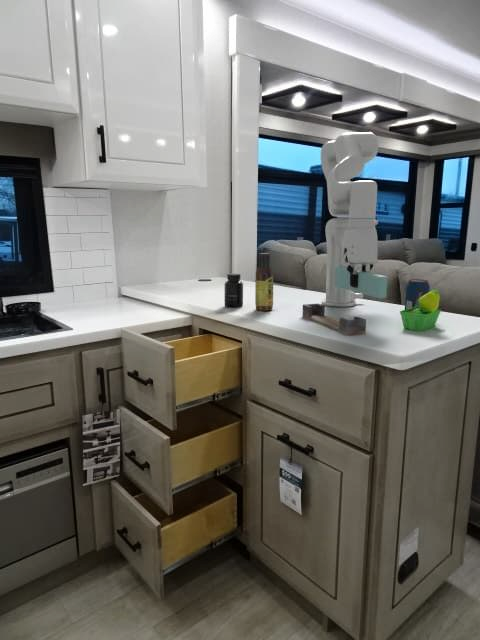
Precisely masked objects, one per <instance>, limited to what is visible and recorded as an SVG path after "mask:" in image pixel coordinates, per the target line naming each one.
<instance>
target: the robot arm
mask: <svg viewBox="0 0 480 640" xmlns="http://www.w3.org/2000/svg"><path fill="white" fill-rule="evenodd" d="M378 151H379V139H378V137H377V136H376V134H375V133H373V132H371V131H369V132H368V131H367V132H364V131H363V132H344V133H341V134H339V135H338V136H337V137H336V139H335V140H329V141H327V142H325V143H324V144H322V147H321V149H320V163H321V164H320V165H321V169H322V172H323V175H324V178H325V180H326V187H327V188H326V189H327V205H328V211H329V213H330V215H331V216H332V217H334V218H331V219H329V220H328V221H327V222H326V225H325V231H324V232H325V239H326V279H325V280H326V284H325V288H326V289H325V299H322V300H321V305H324V306H328V307H338V308H345V307H353V306H355V305H357V301H356V299H363V298H364V294H362V293H358V292H355V291H351V290H348V289H344V288H340V287H337V286H334V279H335V267H343V268H346V269H347V270H348V272H349V273H350V286H351V287H355V288H357V287H358V274H357V270H358V266H359V265H360V264H361V265H360V267H361V268H360V271H363V272H368V273H371V270H372V269H373V268H375V267H376V266H377V265H379V260H378V250H379V249H378V248H379V244H378V243H379V242H378V232H377V229H376V226H378V224H379V220H376V215H377V214H376V213H377V196H378V184H377V182H376V181H374V180H355V181H354V180H353V181H351V179H354V178H357V177H358V176H359V175H361V173H362V172H363V171H364V168H365V165H366V164H368V163H370V161H373V160H374V159H375V158H376V156H377V155H378Z"/></svg>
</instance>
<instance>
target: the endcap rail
mask: <svg viewBox="0 0 480 640" xmlns="http://www.w3.org/2000/svg"><path fill="white" fill-rule="evenodd" d="M325 314H326V305H323V304H322V303H307V304H302V318H305V319H307V320H309V321H312V322H314V323H316V324H319V325H322V326H324V327H326V328H328V329H331V330H333V331H335V332H338V333H341V334H343V335H345V336H359V335H365V334H366V332H367V331H366V330H367V319H365V318H364V317H363V318H362V317H359V316H353V319H347V318H345V317H339V320H338V319H334V318H332V317H329V316H326V315H325Z"/></svg>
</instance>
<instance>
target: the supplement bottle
mask: <svg viewBox="0 0 480 640" xmlns="http://www.w3.org/2000/svg"><path fill="white" fill-rule="evenodd" d="M226 277H227V278H226V279H227V280H226V281H225V282H224V307H225V308H228V309H240V308H242V307H243V305H244V283H243V282H242V281H241V274H240V273H228V274H227V275H226Z"/></svg>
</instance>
